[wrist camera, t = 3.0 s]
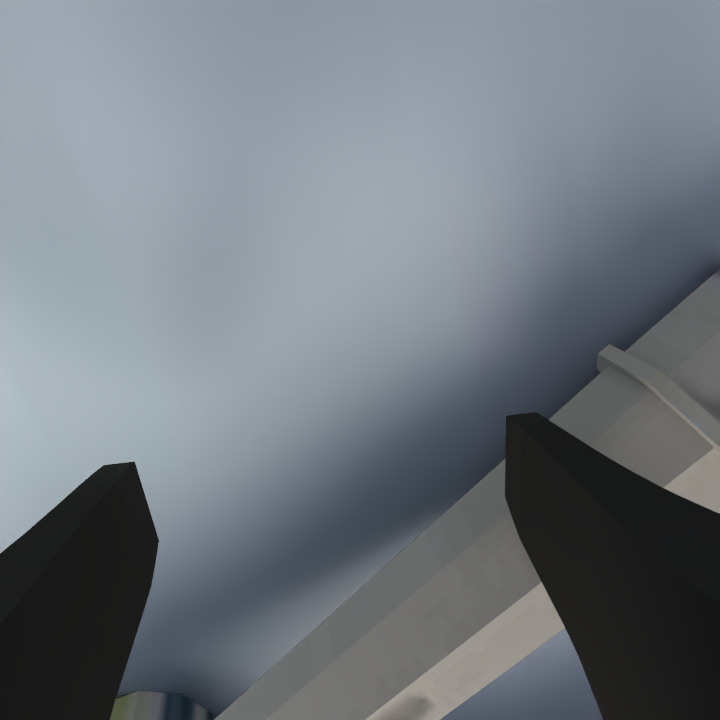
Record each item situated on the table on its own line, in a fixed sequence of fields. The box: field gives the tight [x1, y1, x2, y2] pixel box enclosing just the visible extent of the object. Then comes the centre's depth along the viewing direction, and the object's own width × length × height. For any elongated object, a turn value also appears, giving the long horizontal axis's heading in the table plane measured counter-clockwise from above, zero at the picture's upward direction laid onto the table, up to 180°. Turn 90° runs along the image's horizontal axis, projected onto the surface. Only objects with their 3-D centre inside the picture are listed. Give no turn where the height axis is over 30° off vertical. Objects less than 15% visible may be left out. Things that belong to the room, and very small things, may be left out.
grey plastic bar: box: [110, 269, 720, 720], centre depth 15 cm, size 5×7×25 cm
